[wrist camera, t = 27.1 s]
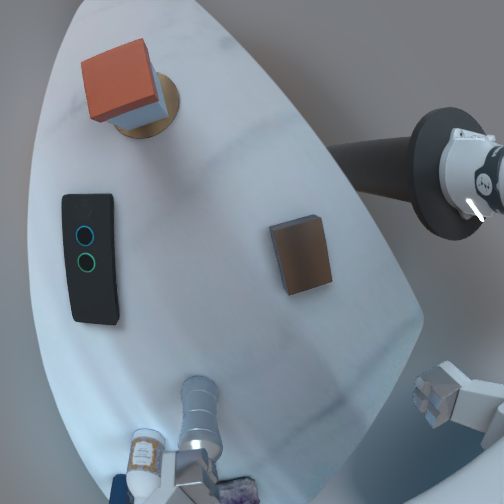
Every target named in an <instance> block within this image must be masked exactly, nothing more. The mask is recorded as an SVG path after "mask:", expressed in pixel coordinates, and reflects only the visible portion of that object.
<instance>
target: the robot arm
mask: <svg viewBox="0 0 504 504" xmlns="http://www.w3.org/2000/svg"><path fill="white" fill-rule="evenodd" d="M439 180H440V186H441V189H442V192H443V195H444V197H445V199H446V200H447V202H448V203H449V204H450V205H451V206H452V207H454V208H455V209H456V210H458V212H459V214H460V216H461V217H462V218H463V219H466V220H467V219H469V218H471V217H472V216H473V215H477V216H478V217H479V219H480V220H481V221H484V219H483V217H492V215H494V214H495V213H496V212H497V213H500V214H502V215H504V146H502V145H499V144H496V143H495V136H494V135H483V134H479V133H475V132H471V131H467V130H463V129H459V128H453V129H452V131H451V135H450V140H449V142H448V144H447V145H446V147H445V148H444V150H443V152H442V155H441V159H440V164H439ZM482 216H483V217H482ZM415 385H416V386H417V387H416V388H415V390H414V391H413V401H414V404H415V406H416V408H417V409H418V411H419V412H422V413H425V419H426V420H427V422H428V423H429V424H430V425H431V426H432V427H433V429H434V428H436V427H438V426H439V425H441V424H443V423H444V422H446V421H448V420H449V419H450V420H451V421H454V422H457V423H459V424H462V425H465V426H467V427H470V428H473V429H476V430H479V431H481V432H484V433H485V436H484V437H483V439H482V441H481V446H482V447H483V448H484V450H485V451H484V452H483V453H482V454H480V455H479V456H478V457H476V458H475V459H474V460H472V461H471V462H470V463H468V464H467V465H465V466H464V467H463V468H461V469H460V470H458V471H457V472H455V473H454V474H453V475H451V476H449V477H448V478H446V479H445V480H443V481H442V482H440V483H438V484H437V485H435V486H434V487H432V488H430V489H429V490H427V491H425V492H423V493H422V494H420V495H418V496H416V497H414V498H413V499H411V500H409V501H407V502H405V503H403V504H504V384H498V383H492V382H486V381H481V380H475V379H473V380H472V381H471V380H470V379H469V378H468V377H467V376H466V375H464V374H463V373H462V372H461V371H460V370H458V369H457V368H456V367H455V366H454V365H453V364H452V363H451V362H449V361H447V360H446V361H445V362H443V363H441V364H439V365H438V366H435V367H433V368H432V369H430V370H428V371H426V372H425V373H423V374H421V375H419V376H417V377H416V379H415ZM217 481H218V474H217V470H216V466H215V464H214V462H213V460H212V459H210V458H208V452H207V451H206V450H205V448H200V449H192V450H183V451H174V452H164V454H163V456H162V466H161V480H160V487H156V489H155V490H154V491H153V492H152V493H151V495H150V496H149V497H148V498H147V499H146V500H145V502H144V503H143V504H220V493H219V489H218V487H217V486H216V485H215V484H216V483H217Z"/></svg>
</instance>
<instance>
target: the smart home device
mask: <svg viewBox="0 0 504 504" xmlns="http://www.w3.org/2000/svg"><path fill="white" fill-rule="evenodd" d="M113 206H114V202H113V196H112V194H67V195H64V196H63V197H62V231H63V246H64V258H65V268H66V277H67V284H68V292H69V299H70V305H71V311H72V316H73V319H74V321H76V322H83V323H93V324H103V325H116V324H117V322H118V320H119V306H118V296H117V285H116V271H115V253H114V214H113Z"/></svg>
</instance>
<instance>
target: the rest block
mask: <svg viewBox="0 0 504 504" xmlns="http://www.w3.org/2000/svg"><path fill="white" fill-rule="evenodd" d="M269 228H270V232H271V236H272V240H273V244H274V248H275V252H276V257H277V261H278V265H279V269H280V273H281V278H282V282H283V286H284V289H285V290H286V292H287V294H288V295H289V296H290V295H293V294H296V293H299V292H302V291H306V290H309V289H312V288H315V287H318V286H321V285H324V284H327V283H330V282H332V275H331V269H330V263H329V258H328V252H327V246H326V241H325V235H324V230H323V225H322V220H321V218H320V217H318V216H316V215H310V216H307V217H303V218H299V219H296V220H292V221H288V222H285V223H281V224H278V225H274V226H271V227H269Z"/></svg>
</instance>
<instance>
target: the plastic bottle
mask: <svg viewBox="0 0 504 504" xmlns="http://www.w3.org/2000/svg"><path fill="white" fill-rule="evenodd" d="M218 396H219V395H218V391H217V388H216V385H215V384H214V383H213V382H212V381H211V380H209V379H207V378H205V377H201V376H196V377H192V378H190V379H188V380H186V381H185V382H184V384H183V386H182V389H181V400H182V404H183V422H182V429H181V433H180V437H179V441H178V448H179V451H183V450H192V449H200V448H205V450H206V451H207V452H208V458H210V459H212V460H213V462H214V463H215V462H216V461H217V460H218V459H219V458H220V456H221V454H222V451H223V445H222V440H221V437H220V433H219V430H218V425H217V418H216V413H217V403H218ZM215 466H216V465H215Z"/></svg>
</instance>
